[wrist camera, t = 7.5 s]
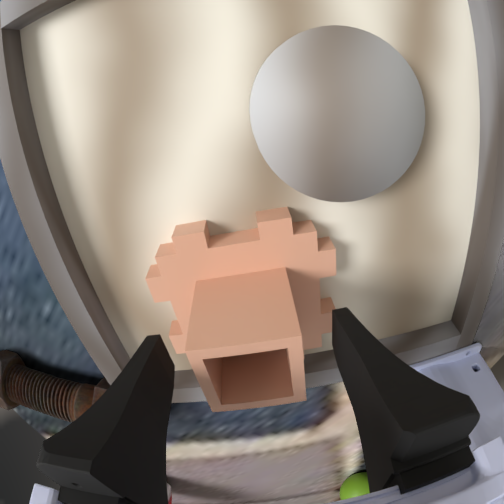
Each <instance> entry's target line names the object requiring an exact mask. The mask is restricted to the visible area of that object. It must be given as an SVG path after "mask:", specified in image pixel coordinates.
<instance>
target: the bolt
mask: <svg viewBox="0 0 504 504" xmlns="http://www.w3.org/2000/svg"><path fill="white" fill-rule="evenodd" d="M110 386H111V385H110V384H109V383H108V381H107V380H106V378H105V377H104V378H103V379H102V380H101V381H100V382H99V383H98V384H97V385H92V384H88V383H84V384H82V383H79V382H75V381H71V380H67V379H63V378H58V377H55V376H53V375H50V374H46V373H44V372H41V371H37V370H35V369H32V368H29V367H26V366H25V364H24V362H23V360H22V359H21V357H20V356H19V355H18V354H17V353H14V352H11V351H8V350H2V351H0V407H1V408H4V409H6V410H10V409H13V408H15V407H17V406H19V405H22V406H25V407H28V408H30V409H33V410H36V411H39V412H42V413H44V414H47V415H50V416H53V417H56V418H59V419H62V420H65V421H69V422H74V421H75V420H76V419H77V418H79V417H80V416H81V415H82V414H83V413H84V412H85V411H86V410H88V409H89V408H90V407H91V406H92V405H93V404H94V403H95V402H96V401H97V400H98V399H99V398H100V397H101V396H102V395H103V394H104V393H105V391H106V390H107V389H108V388H109V387H110Z"/></svg>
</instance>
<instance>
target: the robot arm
mask: <svg viewBox="0 0 504 504" xmlns="http://www.w3.org/2000/svg"><path fill="white" fill-rule="evenodd" d="M332 346H333V351H334V355H335V359H336V363H337V366H338V369H339V372H340V374H341V377H342V380H343V382H344V385H345V388H346V390H347V393H348V396H349V399H350V401H351V404H352V407H353V410H354V413H355V417H356V421H357V425H358V430H359V434H360V439H361V444H362V449H363V454H364V459H365V465H366V471H367V477H368V484H369V491H370V493H369V494H365V495H361V496H357V497H353V498H349V499H345V500H340V501H335V502H331V503H325V504H504V391H503V390H502V388H501V386H500V385H499V383H498V381H497V380H496V378H495V377H494V375H493V373H492V372H491V370H490V368H489V367H488V365H487V364H486V362H485V361H484V359H483V358H482V356H481V355H480V353H479V352H480V350H481V347H482V346H481V344H480V343H475V344H473V345H470V346H467V347H464V348H462V349H459V350H456V351H453V352H450V353H447V354H444V355H441V356H438V357H435V358H432V359H429V360H426V361H422V362H419V363H416V364H412V365H408V364H406V363H405V362H404V361H402V360H401V359H400V358H398V357H397V356H396V355H395V354H393V353H392V352H391V351H390V350H389V349H387V348H386V347H385V346H384V345H383V344H382V343H381V342H380V341H379V340H378V339H377V338H376V337H375V336H373V335H372V334H371V333H370V332H369V331H368V330H367V329H366V327H365V326H364V325H363V324H362V323H361V322H360V321H359V320H358V319H357V318H356V317H355V315H354V314H353V313H352V312H351V311H350V310H349V309H348V308H347V307H344V308H339V309H334V310H332ZM174 378H175V365H174V363H173V361H172V359H171V357H170V355H169V352H168V350H167V348H166V346H165V344H164V342H163V340H162V337H161V335H160V334H158V335H147V336H146V338H145V339H144V341H143V342H142V343H141V345H140V346H139V348H138V349H137V351H136V352H135V353H134V355H133V356H132V358H131V359H130V361H129V362H128V363H127V365H126V366H125V367H124V369H123V370H122V372H121V373H120V374H119V375H118V377H117V378H116V379H115V381H114V382H113V383H112V384H111V386H110V387H109V388H108V389H107V390H106V391H105V393H104V394H103V395H102V396H101V397H100V398H99V399H98V400H97V401H96V402H95V403H94V404H93V405H92V406H91V407H90V408H89V409H88V410H86V411H85V412H84V413H83V414H82V415H81V416H80V417H79V418H77V419H76V420H75V421H74V422H72V423H71V424H70V425H68V426H67V427H65V428H64V429H63V430H61V431H60V432H58V433H56V434H55V435H53V436H52V437H50V438H48V439H47V440H45V441H44V442H43V444H42V447H41V450H40V454H39V457H38V460H37V463H36V465H37V468H38V469H39V470H40V471H41V472H42V473H43V474H44V475H46V476H47V477H49V478H50V479H52V480H53V481H54V482H56V483H57V484H59V485H60V486H61V487H60V491H58V490H56V489H53V488H49V487H46V486H43V485H40V484H34V487H33V491H32V495H31V499H30V503H29V504H169V503H168V494H167V480H166V436H167V427H168V421H169V415H170V409H171V403H172V397H173V390H174Z"/></svg>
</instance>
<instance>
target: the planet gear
mask: <svg viewBox="0 0 504 504" xmlns="http://www.w3.org/2000/svg"><path fill="white" fill-rule="evenodd" d="M256 218H257V225H258V228H254V229H248V230H242V231H236V232H230V233H224V234H218V235H212V236H210V234H209V230H208V225H207V221H206V220H202V221H197V222H191V223H186V224H180V225H176V227H175V229H174V232H173V234H172V237H171V238H172V241H173V242H171V243H165V244H160V246H159V248H158V251H157V253H156V256H155V260H156V263H157V264H154V265H151V266H150V268H149V271H148V273H147V276H146V278H145V280H146V282H147V285H148V287H149V290H150V292H151V295H152V297H153V300H154V302H155V303H158V302H165V301H170V302H171V304H172V307H173V309H174V312H175V315H176V317H177V320H173V321H172V322H171V327H170V332H169V338H170V340H171V342H172V345H173V347H174V349H175V351H176V354H182V353H186V355H187V358H188V360H189V362H190V364H191V367H192V369H193V371H194V373H195V376H196V378H197V380H198V382H199V384H200V387H201V389H202V391H203V393H204V395H205V397H206V399H207V402H208V404H209V406H210V408H211V410H212V412H220V411H231V410H241V409H250V408H259V407H266V406H274V405H281V404H287V403H294V402H300V401H306V387H305V372H304V350H307V349H313V348H318V347H322V334H325V333H330V332H332V310H334V309H335V306H334V304H333V301H332V298H331V297H328V298H323V299H320V278H324V277H330V276H335V275H336V248H335V247H334V245H333V243H332V241H331V239H330V237H323V238H317V231H316V229H315V227H314V225H313V223H312V221H311V220H305V221H299V222H292V218H291V215H290V213H289V210H288V207H281V208H275V209H268V210H262V211H256Z"/></svg>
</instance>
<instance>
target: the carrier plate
mask: <svg viewBox="0 0 504 504" xmlns="http://www.w3.org/2000/svg"><path fill="white" fill-rule="evenodd" d="M0 159H1V162H2V165H3V169H4V172H5V175H6V178H7V182H8V185H9V188H10V191H11V194H12V196H13V199H14V202H15V205H16V208H17V210H18V213H19V216H20V218H21V221H22V223H23V226H24V228H25V231H26V233H27V236H28V238H29V240H30V243H31V245H32V247H33V250H34V252H35V254H36V256H37V259H38V261H39V263H40V265H41V267H42V269H43V271H44V274H45V276H46V278H47V280H48V282H49V284H50V286H51V288H52V290H53V292H54V294H55V295H56V297H57V299H58V301H59V303H60V305H61V307H62V309H63V310H64V312H65V314H66V316H67V318H68V319H69V321H70V323H71V325H72V326H73V328H74V330H75V331H76V333H77V335H78V336H79V338H80V340H81V341H82V343H83V345H84V346H85V348H86V350H87V351H88V353H89V354H90V356H91V357H92V359H93V360H94V362H95V364H96V365H97V367H98V368H99V370H100V371H101V372H102V374H103V375H104V377H105V378H106V380H107V381H108V383H109V384H110V385H111V384H112V383H113V382H114V381H115V379H116V378H117V377H118V375H119V374H120V373H121V372H122V370H123V369H124V367H125V366H126V365H127V363H128V362H129V361H130V359H131V358H132V356H133V355H134V353H135V352H136V351H137V349H138V348H139V346H140V345H141V343H142V342H143V341H144V339H145V338H146V336H147V335H158V334H160V335H161V337H162V340H163V342H164V344H165V346H166V348H167V350H168V352H169V355H170V357H171V359H172V361H173V363H174V365H175V378H174V390H173V397H172V403H183V402H200V401H207V399H206V397H205V395H204V393H203V391H202V389H201V387H200V384H199V382H198V380H197V378H196V376H195V373H194V371H193V369H192V367H191V364H190V362H189V360H188V358H187V355H186V353H182V354H176V351H175V349H174V347H173V345H172V342H171V340H170V338H169V332H170V327H171V322H172V321H173V320H177V317H176V315H175V312H174V309H173V307H172V304H171V302H170V301H165V302H158V303H155V302H154V300H153V297H152V295H151V292H150V290H149V287H148V285H147V282H146V280H145V278H146V276H147V273H148V271H149V268H150V266H151V265H154V264H157V263H156V260H155V256H156V253H157V251H158V248H159V246H160V244H165V243H171V242H173V241H172V238H171V237H172V234H173V232H174V229H175V227H176V225H180V224H186V223H191V222H197V221H202V220H206V221H207V225H208V230H209V234H210V236H212V235H218V234H224V233H230V232H236V231H242V230H248V229H254V228H258V225H257V218H256V211H262V210H268V209H275V208H281V207H288V210H289V213H290V215H291V218H292V222H299V221H305V220H311V221H312V223H313V225H314V227H315V229H316V231H317V238H323V237H330V239H331V241H332V243H333V245H334V247H335V248H336V275H335V276H330V277H324V278H320V299H323V298H328V297H331V298H332V301H333V304H334V306H335V309H339V308H344V307H347V308H348V309H349V310H350V311H351V312H352V313H353V314H354V315H355V317H356V318H357V319H358V320H359V321H360V322H361V323H362V324H363V325H364V326H365V327H366V329H367V330H368V331H369V332H370V333H371V334H372V335H373V336H375V337H376V338H377V339H378V340H379V341H380V342H381V343H382V344H383V345H384V346H385V347H386V348H387V349H389V350H390V351H391V352H392V353H393V354H395V355H396V356H397V357H398V358H400V359H401V360H402V361H404V362H405V363H406V364H408V365H410V364H414V363H417V362H420V361H424V360H427V359H430V358H433V357H436V356H439V355H442V354H445V353H448V352H451V351H454V350H457V349H460V348H463V347H466V346H468V345H471V344H472V342H473V340H474V337H475V335H476V332H477V329H478V326H479V324H480V321H481V318H482V315H483V312H484V309H485V306H486V303H487V300H488V297H489V294H490V290H491V287H492V284H493V280H494V276H495V273H496V269H497V265H498V261H499V257H500V253H501V249H502V244H503V240H504V0H2V1H0ZM304 372H305V387H306V388H312V387H317V386H322V385H328V384H333V383H337V382H342V381H343V380H342V377H341V374H340V372H339V369H338V366H337V363H336V359H335V355H334V351H333V346H332V332H330V333H325V334H322V347H318V348H313V349H307V350H304Z"/></svg>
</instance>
